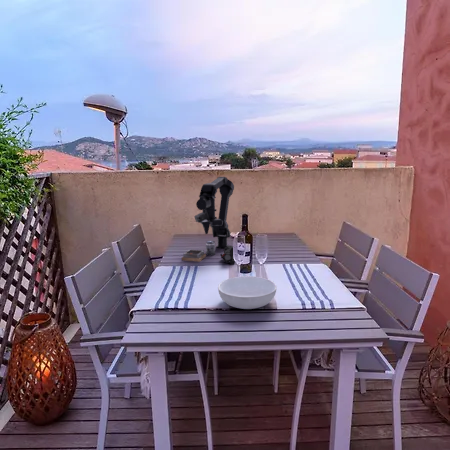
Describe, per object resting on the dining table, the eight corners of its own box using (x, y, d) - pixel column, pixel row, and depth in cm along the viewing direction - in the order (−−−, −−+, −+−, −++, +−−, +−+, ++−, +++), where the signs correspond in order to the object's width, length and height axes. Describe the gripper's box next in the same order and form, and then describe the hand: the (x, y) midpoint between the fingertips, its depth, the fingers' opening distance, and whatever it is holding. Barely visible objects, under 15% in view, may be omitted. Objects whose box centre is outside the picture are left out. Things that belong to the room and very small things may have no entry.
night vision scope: (229, 260, 186) (244, 249, 183) (226, 271, 168) (241, 259, 166) (220, 249, 185) (234, 238, 183) (215, 259, 168) (231, 246, 165)
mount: (188, 255, 187) (188, 248, 187) (206, 256, 185) (205, 249, 184) (181, 260, 178) (181, 253, 177) (199, 261, 175) (199, 254, 175)
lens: (207, 252, 192) (207, 240, 191) (216, 253, 191) (216, 240, 190) (204, 255, 187) (204, 242, 186) (213, 255, 186) (213, 242, 185)
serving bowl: (241, 288, 138) (241, 272, 137) (287, 301, 125) (287, 283, 124) (206, 305, 122) (205, 287, 121) (254, 322, 109) (254, 302, 108)
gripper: (188, 206, 188) (189, 234, 191) (203, 210, 172) (204, 241, 175) (206, 205, 194) (207, 232, 197) (223, 209, 178) (223, 238, 181)
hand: (210, 235), depth 187 cm, fingers open, 9 cm apart
